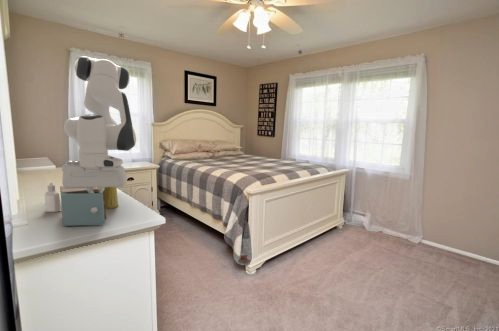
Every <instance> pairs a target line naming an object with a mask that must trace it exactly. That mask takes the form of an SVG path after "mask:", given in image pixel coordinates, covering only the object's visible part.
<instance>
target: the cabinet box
mask: <svg viewBox="0 0 499 331" xmlns="http://www.w3.org/2000/svg"><path fill="white" fill-rule="evenodd" d="M59 188H60V195H61V194H71V193H89V192H88V191H87V187H84V188H65V187H64V186H63V185H60V186H59ZM92 190H93V192H94V193H99V191H100V190H98V187H94V189H92ZM103 203H104V220H106V219H107V209H106V206H105V189H104V191H103ZM60 206H62V202H61V201H60ZM61 214H62V213H61ZM61 217H62V218H63V214H62V216H61Z"/></svg>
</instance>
